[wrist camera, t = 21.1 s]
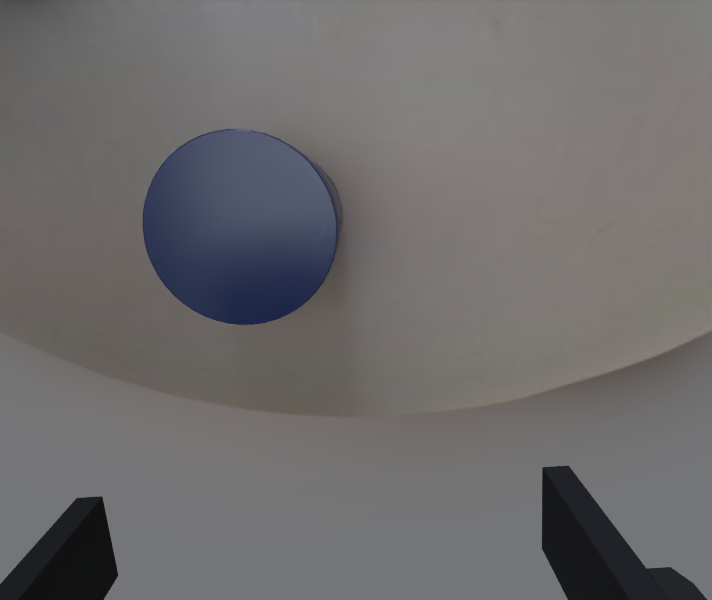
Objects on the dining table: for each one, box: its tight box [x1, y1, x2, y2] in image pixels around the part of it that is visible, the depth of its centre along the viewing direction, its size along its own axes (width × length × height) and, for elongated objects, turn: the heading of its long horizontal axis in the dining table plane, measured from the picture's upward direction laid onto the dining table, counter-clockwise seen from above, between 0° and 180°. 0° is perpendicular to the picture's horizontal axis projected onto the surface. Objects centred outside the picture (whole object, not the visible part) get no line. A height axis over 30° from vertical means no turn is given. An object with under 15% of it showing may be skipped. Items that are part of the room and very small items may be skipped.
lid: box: [143, 129, 340, 325], centre depth 25 cm, size 9×9×3 cm
